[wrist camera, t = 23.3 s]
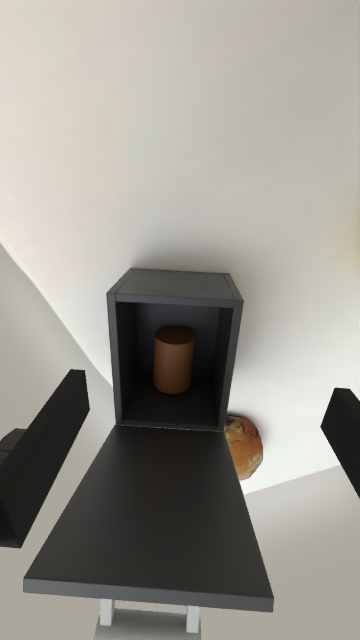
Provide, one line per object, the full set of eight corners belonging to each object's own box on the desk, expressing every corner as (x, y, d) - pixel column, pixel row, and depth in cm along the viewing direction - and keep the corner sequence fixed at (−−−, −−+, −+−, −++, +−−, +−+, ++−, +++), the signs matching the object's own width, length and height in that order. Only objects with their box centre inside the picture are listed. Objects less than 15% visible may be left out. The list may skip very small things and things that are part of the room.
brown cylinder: (149, 340, 30) (147, 389, 33) (191, 347, 29) (186, 397, 32) (161, 323, 35) (159, 367, 38) (198, 329, 34) (193, 374, 37)
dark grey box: (129, 268, 32) (106, 292, 23) (229, 273, 32) (243, 300, 23) (133, 373, 39) (115, 424, 30) (216, 378, 38) (223, 432, 29)
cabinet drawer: (22, 577, 13) (19, 704, 13) (274, 597, 13) (263, 726, 13) (114, 424, 29) (112, 483, 30) (224, 431, 29) (220, 490, 29)
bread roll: (195, 430, 47) (193, 482, 42) (203, 408, 40) (202, 468, 34) (250, 436, 47) (255, 488, 42) (269, 415, 40) (277, 476, 34)
